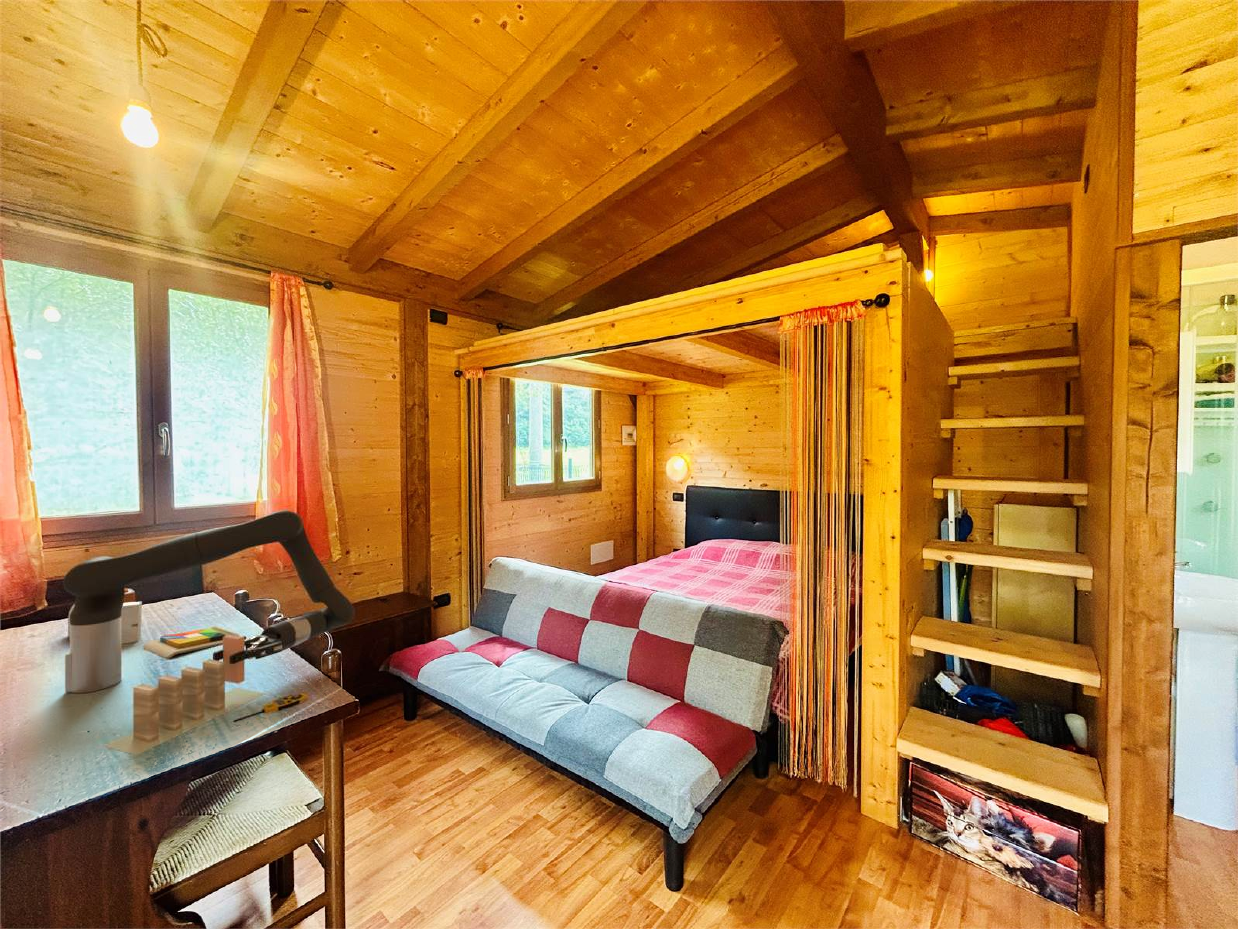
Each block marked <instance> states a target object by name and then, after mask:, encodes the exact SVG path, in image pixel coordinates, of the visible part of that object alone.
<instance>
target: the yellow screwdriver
mask: <svg viewBox="0 0 1238 929" xmlns="http://www.w3.org/2000/svg"><path fill="white" fill-rule="evenodd" d="M307 700H309V699H308V695H307V694H306V693H303V692H302V693H296V694H292V695H287V696H284V697H281V698H278V699H275V700H273V701H272V702H268V703H267V704H265V705H263V707H262V709H261V711H257V712H255V713H251V714H249V715H245V716H243V717H239V718H236V719H234V720H232V723H237V722H240V721H243V720H245V719H249V718H251V717H253V716H257V715H260V714H271V713H275V712H280V711H283V710H286V709H290V708H293V707H295V706H298V705H300V704H302V703H304V702H306V701H307Z"/></svg>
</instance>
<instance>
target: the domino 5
mask: <svg viewBox="0 0 1238 929" xmlns="http://www.w3.org/2000/svg"><path fill="white" fill-rule="evenodd" d="M222 649H223V659H222V662H225V683H227V682H228V683H231V684H240V683H243V682H245V660H243V661H240V662H238V663H235V664H230V663H229V657H230V655H232V654H235V653H238V652H241V651H243V650H245V647H244V637H242V636H240V635H239V636H235V635H227V636H224V637H223V644H222Z"/></svg>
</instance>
